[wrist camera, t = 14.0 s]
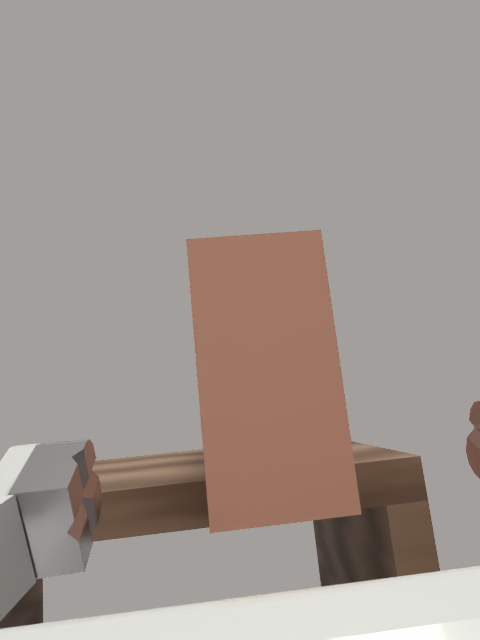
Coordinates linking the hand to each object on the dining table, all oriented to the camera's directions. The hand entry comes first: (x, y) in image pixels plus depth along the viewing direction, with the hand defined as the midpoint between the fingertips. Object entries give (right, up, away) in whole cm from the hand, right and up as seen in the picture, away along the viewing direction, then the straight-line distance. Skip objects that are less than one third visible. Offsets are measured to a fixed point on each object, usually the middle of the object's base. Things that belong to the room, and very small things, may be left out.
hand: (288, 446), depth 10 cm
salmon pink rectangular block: (-1, -5, +14) cm, 15 cm away
